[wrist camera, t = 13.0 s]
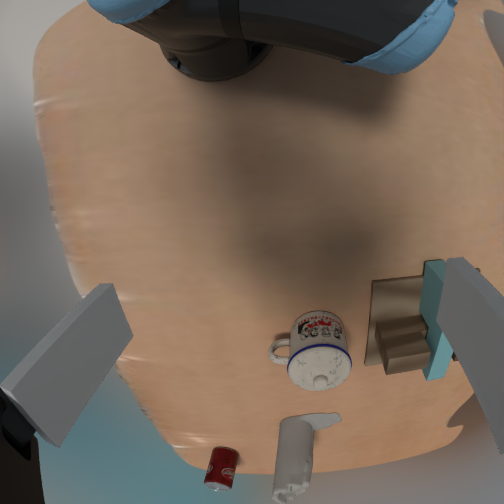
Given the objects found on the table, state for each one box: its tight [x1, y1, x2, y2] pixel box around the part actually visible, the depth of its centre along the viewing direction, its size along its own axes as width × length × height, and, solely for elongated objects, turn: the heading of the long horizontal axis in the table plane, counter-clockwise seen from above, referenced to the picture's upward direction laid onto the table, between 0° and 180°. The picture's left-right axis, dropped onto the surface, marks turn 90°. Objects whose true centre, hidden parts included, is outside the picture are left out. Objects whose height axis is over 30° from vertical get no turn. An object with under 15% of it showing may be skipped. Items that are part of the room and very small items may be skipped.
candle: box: [272, 413, 342, 504], centre depth 46 cm, size 7×14×20 cm, turn 111°
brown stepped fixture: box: [364, 268, 480, 375], centre depth 37 cm, size 17×20×10 cm
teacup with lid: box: [268, 311, 352, 391], centre depth 40 cm, size 12×9×12 cm
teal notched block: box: [419, 260, 453, 381], centre depth 36 cm, size 16×3×9 cm, turn 8°
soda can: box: [204, 447, 238, 491], centre depth 60 cm, size 7×7×12 cm
